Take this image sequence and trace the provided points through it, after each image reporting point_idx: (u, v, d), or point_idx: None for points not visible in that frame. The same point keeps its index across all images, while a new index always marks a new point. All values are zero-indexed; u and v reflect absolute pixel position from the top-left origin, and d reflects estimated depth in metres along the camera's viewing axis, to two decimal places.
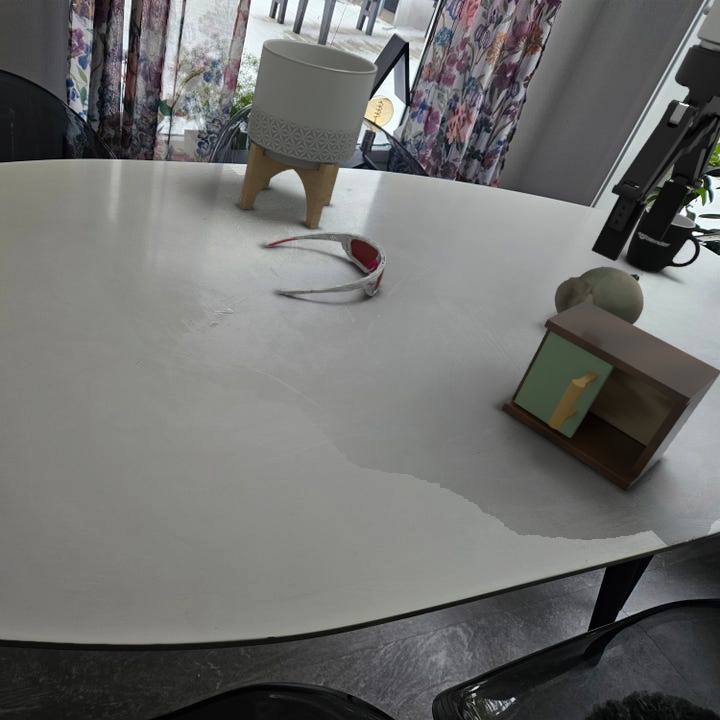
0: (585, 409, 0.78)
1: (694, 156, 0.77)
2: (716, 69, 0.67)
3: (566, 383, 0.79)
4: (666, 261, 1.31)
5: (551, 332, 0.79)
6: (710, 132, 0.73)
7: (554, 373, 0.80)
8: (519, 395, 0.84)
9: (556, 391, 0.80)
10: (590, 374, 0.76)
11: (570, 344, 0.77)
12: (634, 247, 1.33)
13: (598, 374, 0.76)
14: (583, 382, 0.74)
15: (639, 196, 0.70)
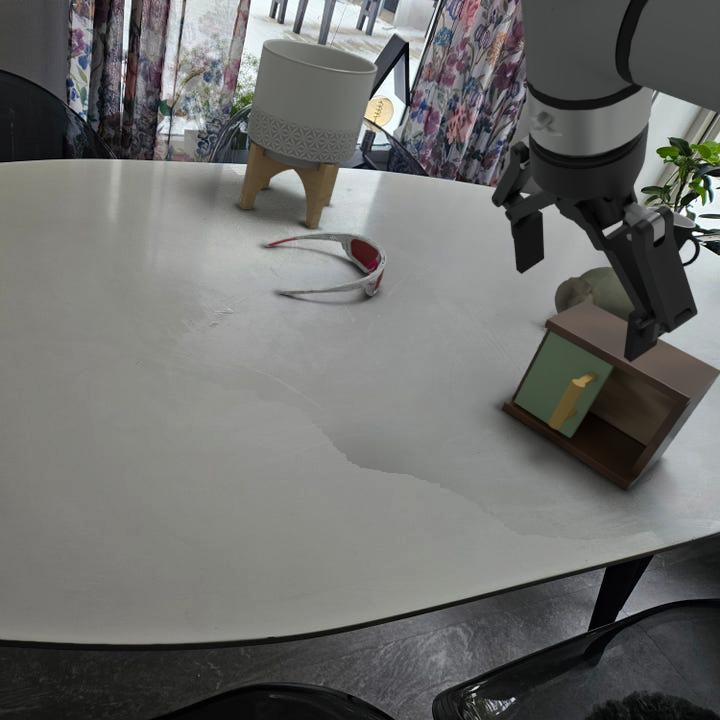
0: (585, 409, 0.78)
1: None
2: (632, 162, 0.47)
3: (566, 383, 0.79)
4: None
5: (551, 332, 0.79)
6: None
7: (554, 373, 0.80)
8: (519, 395, 0.84)
9: (556, 391, 0.80)
10: (590, 374, 0.76)
11: (570, 344, 0.77)
12: None
13: (598, 374, 0.76)
14: (583, 382, 0.74)
15: None
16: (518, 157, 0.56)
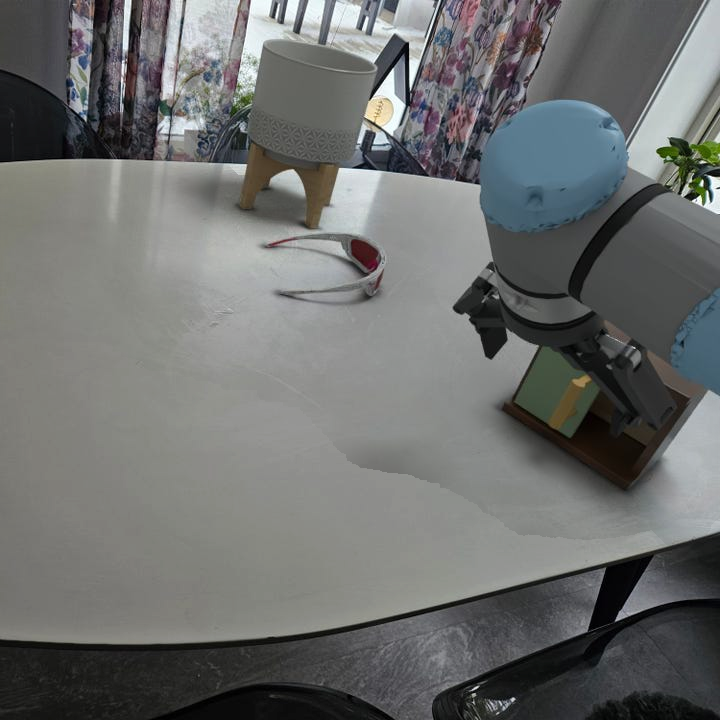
0: (585, 409, 0.78)
1: None
2: None
3: (566, 383, 0.79)
4: None
5: None
6: None
7: (554, 373, 0.80)
8: (519, 395, 0.84)
9: (556, 391, 0.80)
10: None
11: None
12: None
13: None
14: (583, 382, 0.74)
15: None
16: (481, 291, 0.58)
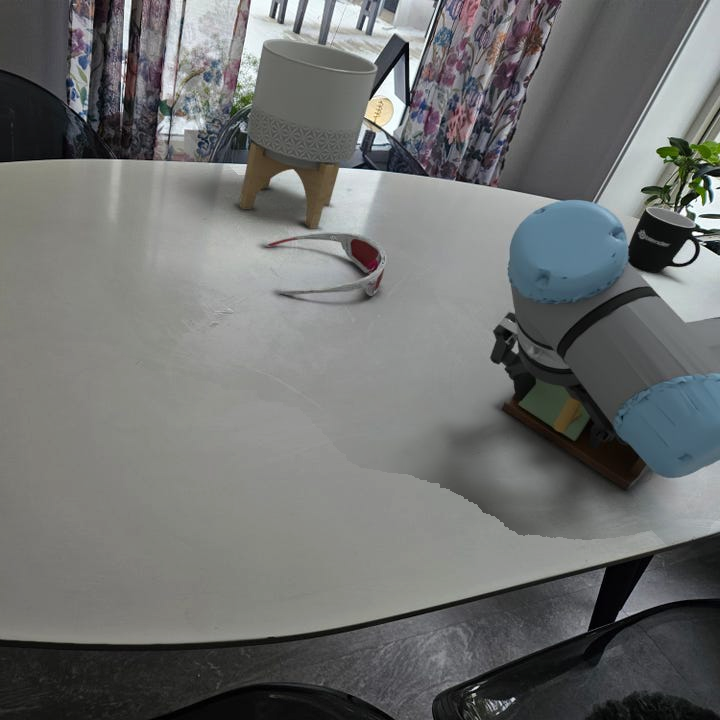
0: None
1: None
2: None
3: None
4: (666, 261, 1.31)
5: None
6: None
7: None
8: None
9: (560, 394, 0.80)
10: None
11: None
12: (634, 247, 1.33)
13: None
14: None
15: None
16: (501, 337, 0.69)
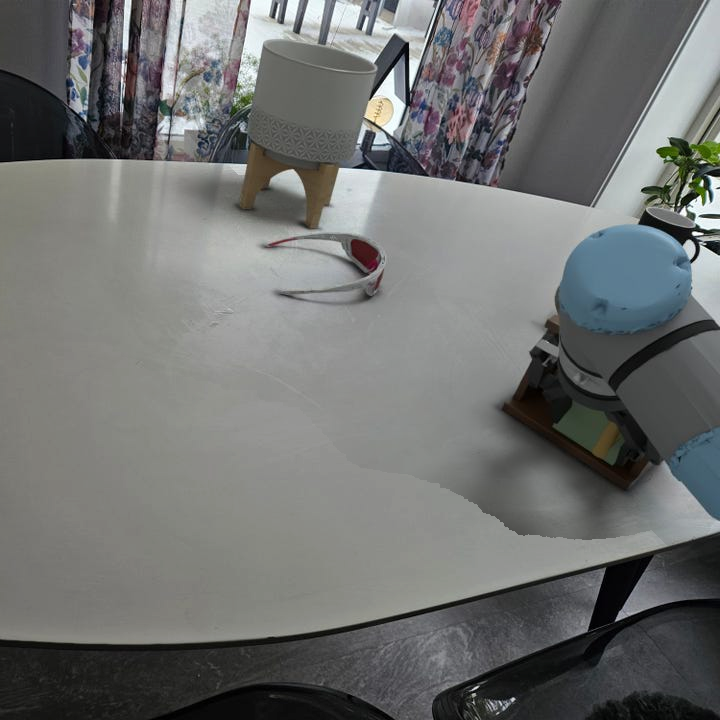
0: None
1: None
2: None
3: None
4: None
5: None
6: None
7: None
8: None
9: (598, 417, 0.77)
10: None
11: None
12: None
13: None
14: None
15: None
16: (538, 359, 0.66)
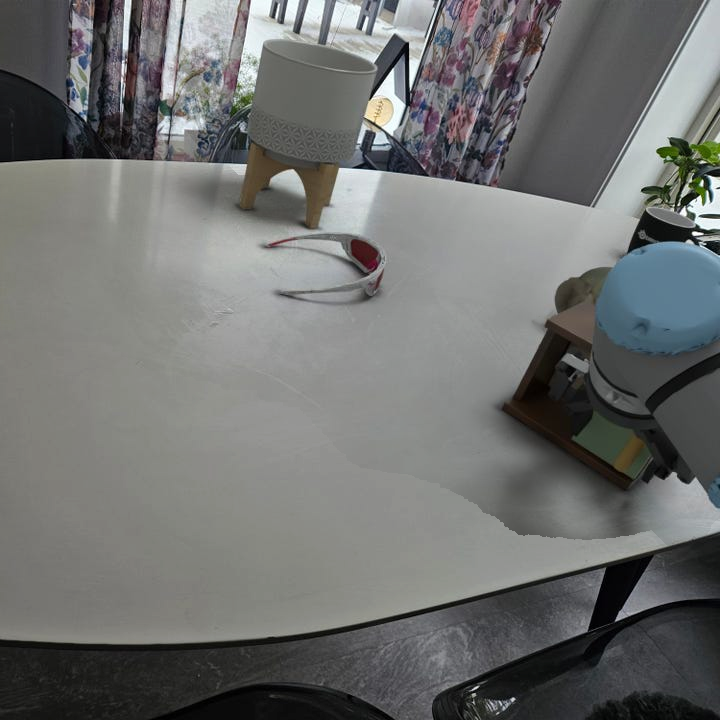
0: None
1: None
2: None
3: None
4: None
5: None
6: None
7: None
8: None
9: (619, 430, 0.76)
10: None
11: None
12: (634, 247, 1.33)
13: None
14: None
15: None
16: (564, 374, 0.65)
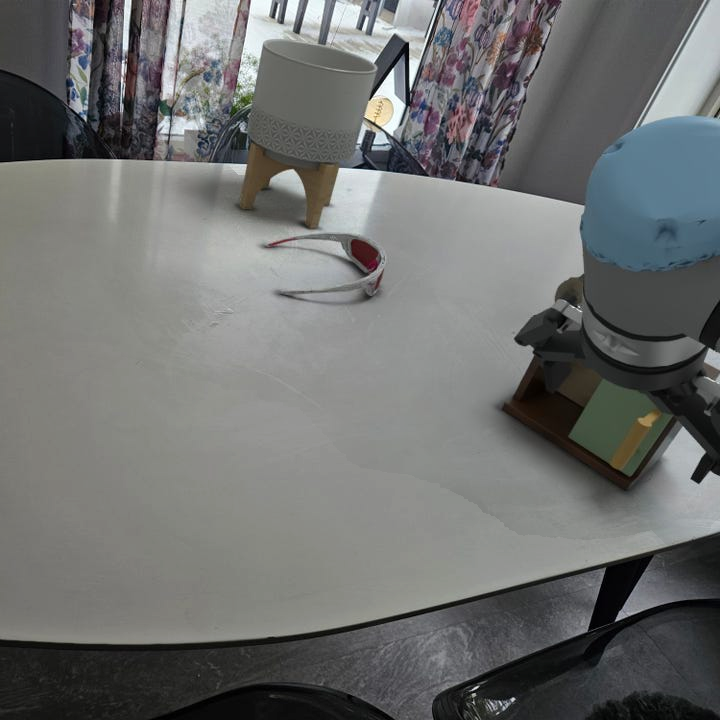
0: (647, 447, 0.74)
1: None
2: (706, 352, 0.44)
3: (627, 420, 0.75)
4: None
5: None
6: None
7: (614, 409, 0.76)
8: (574, 430, 0.80)
9: (615, 427, 0.76)
10: (655, 411, 0.72)
11: None
12: None
13: None
14: (649, 421, 0.70)
15: None
16: (554, 324, 0.53)
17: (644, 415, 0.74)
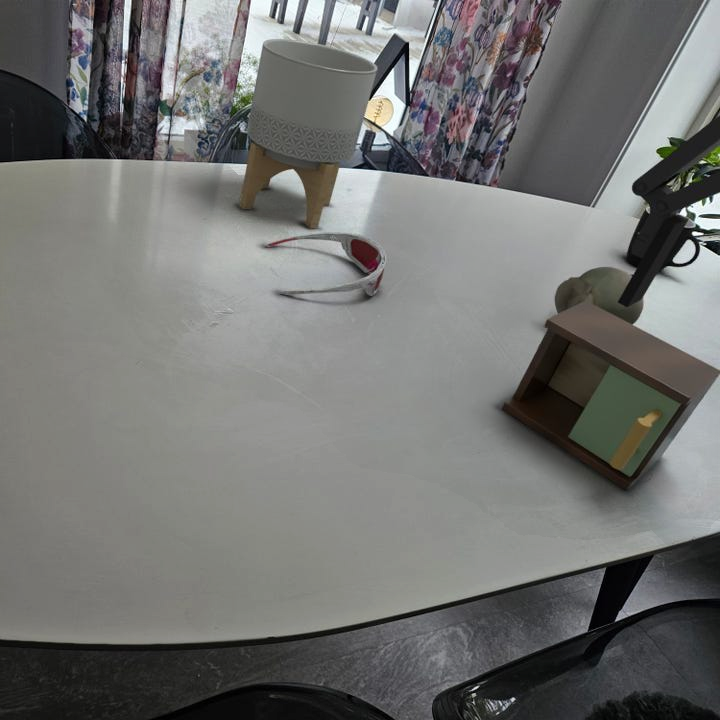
0: (647, 447, 0.74)
1: None
2: None
3: (627, 420, 0.75)
4: (666, 261, 1.31)
5: (611, 366, 0.75)
6: None
7: (614, 409, 0.76)
8: (574, 430, 0.80)
9: (615, 427, 0.76)
10: (655, 411, 0.72)
11: (633, 380, 0.73)
12: None
13: (663, 411, 0.72)
14: (649, 421, 0.70)
15: None
16: None
17: (644, 415, 0.74)
